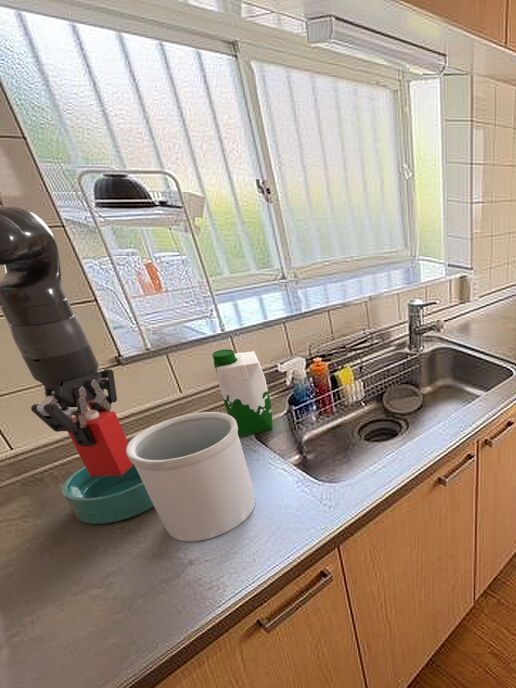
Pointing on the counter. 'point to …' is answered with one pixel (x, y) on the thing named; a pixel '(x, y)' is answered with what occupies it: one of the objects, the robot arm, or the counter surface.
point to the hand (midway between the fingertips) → (98, 436)
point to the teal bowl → (106, 496)
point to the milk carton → (244, 391)
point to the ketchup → (104, 445)
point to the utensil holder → (194, 474)
